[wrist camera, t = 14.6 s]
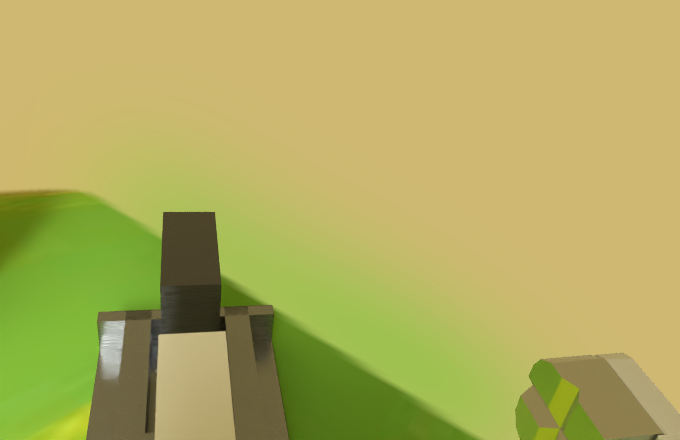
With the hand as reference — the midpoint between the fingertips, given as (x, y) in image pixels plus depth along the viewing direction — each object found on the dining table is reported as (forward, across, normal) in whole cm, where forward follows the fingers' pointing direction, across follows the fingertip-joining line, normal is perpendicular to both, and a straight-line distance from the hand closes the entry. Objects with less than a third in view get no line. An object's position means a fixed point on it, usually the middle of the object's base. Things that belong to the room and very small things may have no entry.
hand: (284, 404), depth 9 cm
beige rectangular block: (+12, +1, +25) cm, 27 cm away
